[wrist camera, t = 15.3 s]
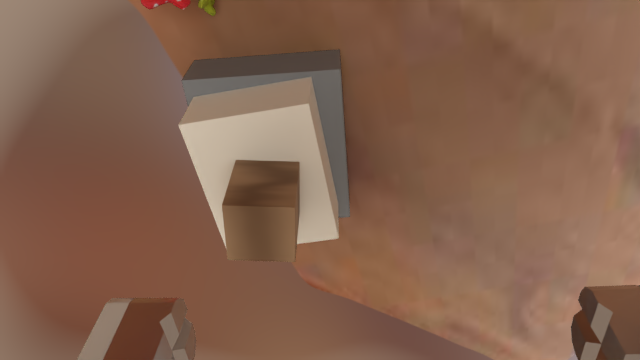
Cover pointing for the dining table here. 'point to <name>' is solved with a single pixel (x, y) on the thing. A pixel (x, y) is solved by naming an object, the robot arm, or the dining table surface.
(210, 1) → the bird rattle
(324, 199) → the tower top
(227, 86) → the tower base
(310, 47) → the dining table surface
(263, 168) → the walnut block
